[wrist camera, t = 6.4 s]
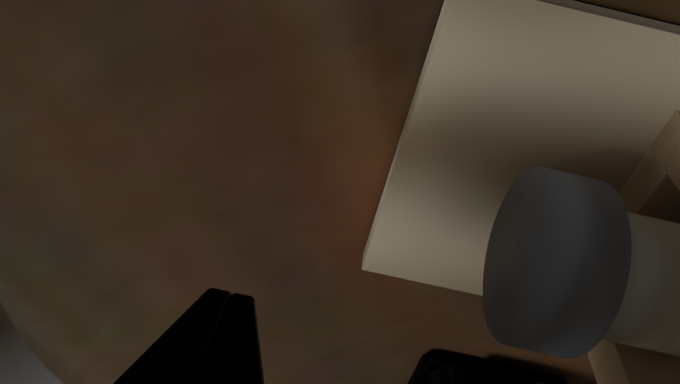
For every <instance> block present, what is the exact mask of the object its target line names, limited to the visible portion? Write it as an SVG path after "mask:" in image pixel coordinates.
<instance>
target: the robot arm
mask: <svg viewBox="0 0 680 384" xmlns="http://www.w3.org/2000/svg"><path fill="white" fill-rule="evenodd" d="M113 384H264V377H263V368H262V360H261V351H260V342H259V333H258V324H257V315H256V307H255V300H254V298H253V297H252V296H248V295H243V294H239V293H234V294H232V295H231V293H230V292H228V291H225V290H220V289H215V288H210V289H208V290H207V291H206V292H205V293H204V294H203V295H202V296H201V297H200V298H199V299H198V300H197V301H196V302H195V303H194V304H193V305H192V306H191V307H190V308H189V309H188V310H187V311H186V312H185V313H184V314H183V315H182V316H181V317H180V318H179V319H178V320H177V321H176V322H175V323H174V324H173V325H172V326H171V327H170V328H169V329H168V330H167V331H166V332H164V333H163V334H162V335H161V336H160V337H159V338H158V339H157V340H156V341H155V342H154V343H153V344H152V345H151V346H150V347H149V348H148V349H147V350H146V351H145V352H144V353H143V354H142V355H141V356H140V357H139V358H138V359H137V360H136V361H135V362H134V363H133V364H132V365H131V366H130V367H129V368H128V369H127V370H126V371H125V372H124V373H123V374H122V375H121V376H120V377H119V378H118V379H117V380H116V381H115V382H114V383H113ZM408 384H568V382H566V381H565V380H563V379H559V378H554V377H550V376H545V375H540V374H535V373H531V372H526V371H521V370H517V369H512V368H507V367H502V366H498V365H493V364H488V363H484V362H479V361H474V360H469V359H465V358H460V357H455V356H451V355H446V354H441V353H436V352H429V353H426V354H424V355H423V356H422V357H421V359H420V361H419V362H418V364H417V366H416V368H415V370H414V372H413V374H412V376H411V378H410V380H409V382H408Z"/></svg>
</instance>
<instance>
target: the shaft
mask: <svg viewBox="0 0 680 384" xmlns="http://www.w3.org/2000/svg"><path fill="white" fill-rule="evenodd" d="M483 305H484V313H485V318H486V321H487V325H488V327H489V330H490V332H491V334H492V336H493V337H494V338H495V339H496V340H497V341H498V342H499V343H501V344H504V345H508V346H512V347H517V348H522V349H526V350H531V351H536V352H540V353H545V354H550V355H554V356H559V357H564V358H576V357H580V356H582V355H584V354H586V353H588V352H589V351H591V350H592V349H593V348H594V347H595V346H596V345H597V344H598V343H599V342H600V341H601V340H606V341H611V342H615V343H620V344H625V345H629V346H634V347H639V348H643V349H648V350H652V351H657V352H662V353H666V354H671V355H676V356H680V224H679V223H675V222H670V221H666V220H661V219H657V218H653V217H648V216H644V215H639V214H635V213H630V212H627V210H626V207H625V205H624V202H623V200H622V198H621V197H620V195H619V193H618V192H617V191H616V190H615V189H614V188H613V186H611V185H610V184H608V183H607V182H604V181H602V180H598V179H593V178H589V177H585V176H580V175H576V174H571V173H567V172H563V171H558V170H554V169H549V168H545V167H540V166H535V167H531V168H529V169H527V170H526V171H524V172H523V173H522V174H521V175H520V176H519V177H518V178H517V179H516V180H515V181H514V183H513V184H512V185H511V187H510V188H509V190H508V192H507V193H506V195H505V197H504V199H503V201H502V203H501V205H500V208H499V210H498V212H497V215H496V218H495V221H494V223H493V227H492V230H491V233H490V237H489V241H488V246H487V251H486V256H485V263H484V272H483Z"/></svg>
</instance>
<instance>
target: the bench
mask: <svg viewBox="0 0 680 384" xmlns="http://www.w3.org/2000/svg"><path fill="white" fill-rule="evenodd" d="M535 166H540V167H545V168H549V169H554V170H558V171H563V172H567V173H571V174H576V175H580V176H585V177H589V178H593V179H598V180H602V181H604V182H607V183H608V184H610V185H611V186H613V188H614V189H615V190H616V191H617V192H618V193H619V195H620V197H621V198H622V200H623V202H624V205H625V207H626V210H627V212H630V213H635V214H639V215H644V216H648V217H653V218H657V219H661V220H666V221H670V222H675V223H679V224H680V26H677V25H673V24H669V23H665V22H661V21H657V20H653V19H648V18H644V17H640V16H636V15H632V14H628V13H624V12H619V11H615V10H611V9H607V8H603V7H599V6H594V5H590V4H586V3H582V2H578V1H574V0H445V1H444V4H443V7H442V10H441V13H440V16H439V19H438V22H437V26H436V29H435V32H434V35H433V38H432V41H431V44H430V47H429V50H428V54H427V57H426V60H425V63H424V66H423V69H422V72H421V75H420V78H419V82H418V85H417V88H416V91H415V94H414V97H413V100H412V103H411V106H410V110H409V113H408V116H407V119H406V122H405V125H404V128H403V131H402V134H401V138H400V141H399V144H398V147H397V150H396V153H395V156H394V159H393V163H392V166H391V169H390V172H389V175H388V178H387V181H386V184H385V187H384V191H383V194H382V197H381V200H380V203H379V206H378V209H377V212H376V215H375V219H374V222H373V225H372V228H371V231H370V234H369V237H368V240H367V243H366V247H365V250H364V253H363V261H362V270H366V271H371V272H375V273H380V274H384V275H389V276H394V277H398V278H403V279H407V280H412V281H417V282H421V283H426V284H430V285H435V286H440V287H444V288H449V289H453V290H458V291H463V292H467V293H472V294H477V295H481V296H483V272H484V263H485V256H486V251H487V246H488V241H489V237H490V233H491V230H492V227H493V223H494V221H495V218H496V215H497V212H498V210H499V208H500V205H501V203H502V201H503V199H504V197H505V195H506V193H507V192H508V190H509V188H510V187H511V185H512V184H513V183H514V181H515V180H516V179H517V178H518V177H519V176H520V175H521V174H522V173H523V172H524V171H526V170H527V169H529V168H531V167H535ZM588 356H589V359H590V363H591V366H592V369H593V372H594V375H595V378H596V382H597V384H680V356H676V355H671V354H666V353H662V352H657V351H652V350H648V349H643V348H639V347H634V346H629V345H625V344H620V343H615V342H611V341H606V340H601V341H600V342H599V343H598V344H597V345H596V346H595V347H594V348H593V349H592V350H591V351H589V352H588Z"/></svg>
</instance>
